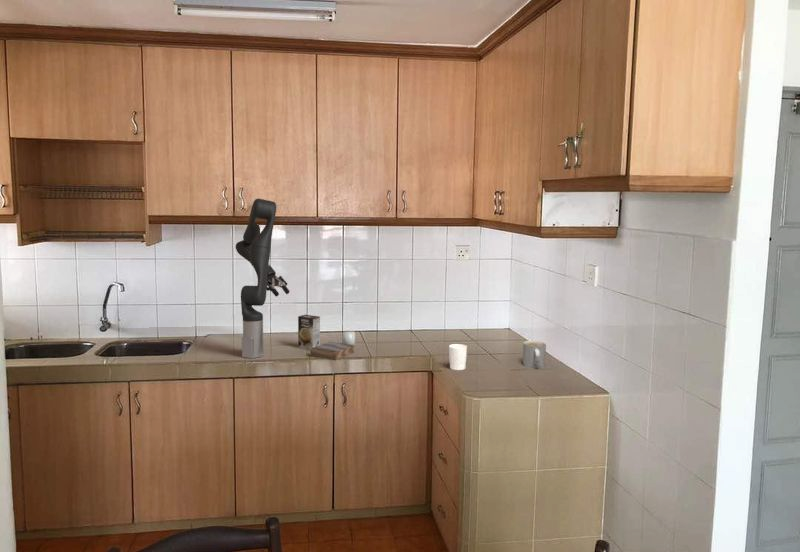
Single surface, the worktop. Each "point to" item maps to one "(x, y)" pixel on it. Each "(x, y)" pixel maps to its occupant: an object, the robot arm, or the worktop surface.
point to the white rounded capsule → (349, 337)
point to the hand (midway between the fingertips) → (283, 294)
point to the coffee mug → (534, 354)
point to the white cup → (457, 356)
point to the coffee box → (308, 331)
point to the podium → (332, 350)
